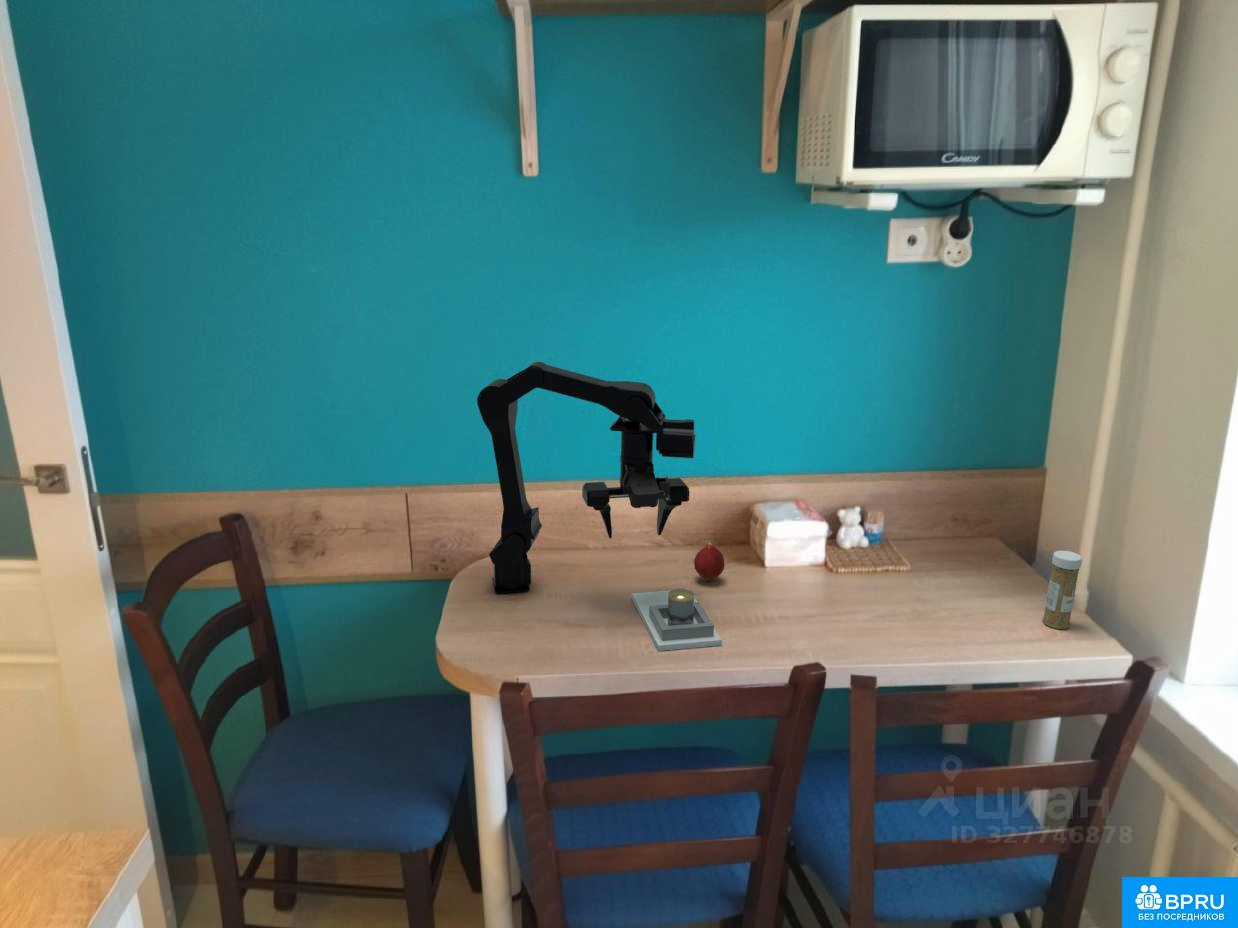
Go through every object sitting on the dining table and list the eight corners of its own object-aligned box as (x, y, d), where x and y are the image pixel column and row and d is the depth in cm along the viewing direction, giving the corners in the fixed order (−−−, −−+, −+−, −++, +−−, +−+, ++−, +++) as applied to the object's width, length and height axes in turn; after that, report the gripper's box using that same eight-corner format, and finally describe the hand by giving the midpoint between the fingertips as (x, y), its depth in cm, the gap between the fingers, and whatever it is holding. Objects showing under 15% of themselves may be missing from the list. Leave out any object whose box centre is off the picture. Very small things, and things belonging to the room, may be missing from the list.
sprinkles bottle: (1071, 631, 162) (1084, 561, 158) (1043, 627, 163) (1055, 557, 159) (1067, 620, 166) (1080, 551, 162) (1040, 616, 168) (1052, 548, 164)
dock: (658, 650, 153) (658, 634, 152) (631, 598, 172) (631, 583, 171) (721, 645, 155) (722, 629, 154) (688, 593, 174) (689, 579, 173)
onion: (706, 572, 183) (708, 534, 181) (729, 581, 180) (731, 543, 177) (687, 580, 180) (689, 542, 177) (710, 589, 176) (712, 551, 173)
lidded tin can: (672, 633, 157) (672, 600, 155) (664, 621, 161) (665, 590, 159) (696, 630, 158) (697, 598, 156) (688, 618, 162) (689, 587, 160)
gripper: (593, 471, 155) (592, 557, 160) (700, 466, 159) (696, 549, 163) (582, 452, 165) (581, 533, 170) (682, 447, 169) (679, 527, 174)
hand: (634, 536), depth 169 cm, fingers open, 9 cm apart
